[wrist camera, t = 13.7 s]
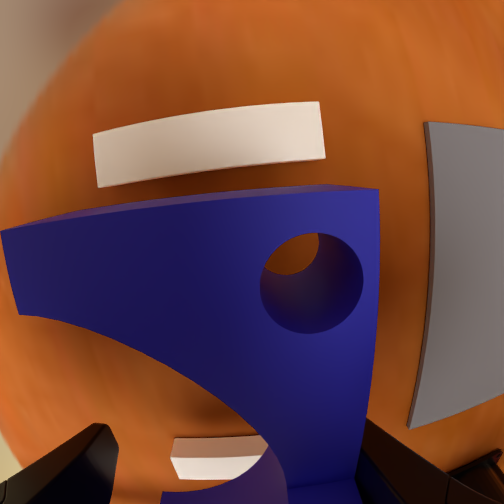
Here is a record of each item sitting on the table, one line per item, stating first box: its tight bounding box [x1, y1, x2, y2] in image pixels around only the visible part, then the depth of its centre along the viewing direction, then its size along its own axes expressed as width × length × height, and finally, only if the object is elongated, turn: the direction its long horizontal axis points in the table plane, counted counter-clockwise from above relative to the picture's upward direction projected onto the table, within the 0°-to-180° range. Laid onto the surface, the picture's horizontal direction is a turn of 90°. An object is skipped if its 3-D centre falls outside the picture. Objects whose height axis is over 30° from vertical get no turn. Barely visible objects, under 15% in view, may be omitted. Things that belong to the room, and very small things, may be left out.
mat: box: [407, 122, 504, 430], centre depth 13 cm, size 10×16×1 cm, turn 6°
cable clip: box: [0, 184, 380, 504], centre depth 6 cm, size 12×4×6 cm
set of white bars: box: [93, 102, 325, 480], centre depth 13 cm, size 8×24×2 cm, turn 6°
